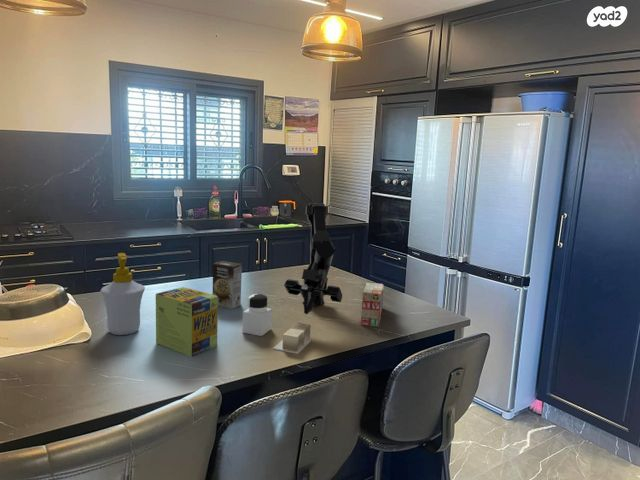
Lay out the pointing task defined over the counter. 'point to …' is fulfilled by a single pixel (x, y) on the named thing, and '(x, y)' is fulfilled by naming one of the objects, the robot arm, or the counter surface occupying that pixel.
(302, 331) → the beech block
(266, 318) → the medicine bottle
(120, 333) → the soap bottle
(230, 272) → the coffee box
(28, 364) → the counter surface
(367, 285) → the stack of blocks
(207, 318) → the protein box
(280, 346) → the felt mat
